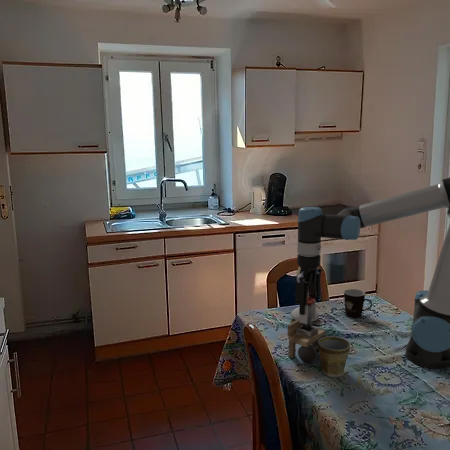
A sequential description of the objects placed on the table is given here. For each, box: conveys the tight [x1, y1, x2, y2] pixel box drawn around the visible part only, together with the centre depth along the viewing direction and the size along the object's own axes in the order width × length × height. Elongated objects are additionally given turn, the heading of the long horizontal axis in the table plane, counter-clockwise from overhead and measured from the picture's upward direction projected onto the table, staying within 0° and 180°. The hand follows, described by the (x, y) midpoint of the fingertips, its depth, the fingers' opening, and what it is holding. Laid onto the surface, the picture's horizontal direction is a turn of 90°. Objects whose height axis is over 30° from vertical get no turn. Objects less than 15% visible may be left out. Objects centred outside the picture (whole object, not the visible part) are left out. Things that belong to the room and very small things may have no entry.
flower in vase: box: [290, 266, 320, 323], centre depth 185 cm, size 13×11×25 cm
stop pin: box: [303, 295, 315, 331], centre depth 156 cm, size 5×5×11 cm
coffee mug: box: [343, 288, 373, 319], centre depth 189 cm, size 12×9×10 cm
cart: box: [287, 319, 327, 364], centre depth 157 cm, size 10×12×12 cm
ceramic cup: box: [318, 335, 351, 378], centre depth 147 cm, size 13×10×10 cm
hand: (307, 320), depth 156 cm, fingers closed on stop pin, 5 cm apart
